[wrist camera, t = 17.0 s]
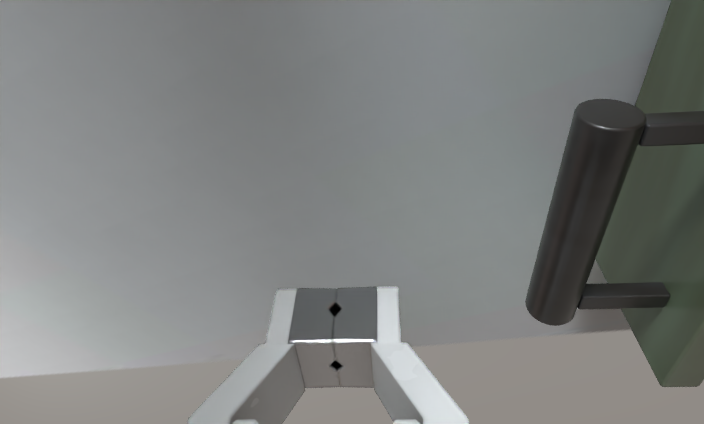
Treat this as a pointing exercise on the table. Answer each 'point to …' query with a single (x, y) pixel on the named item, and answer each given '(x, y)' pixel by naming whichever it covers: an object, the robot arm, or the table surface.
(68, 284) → the table surface
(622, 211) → the drawer
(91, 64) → the table surface
